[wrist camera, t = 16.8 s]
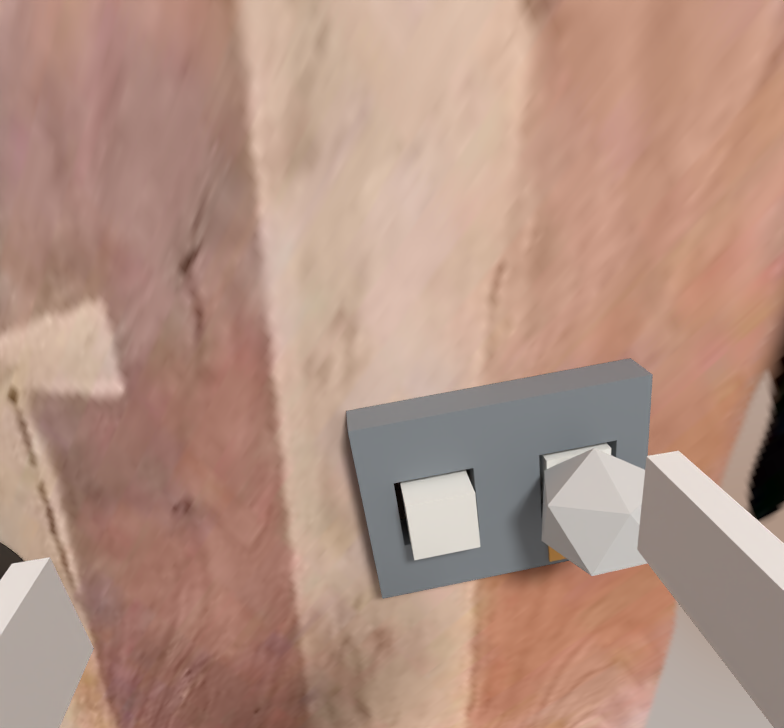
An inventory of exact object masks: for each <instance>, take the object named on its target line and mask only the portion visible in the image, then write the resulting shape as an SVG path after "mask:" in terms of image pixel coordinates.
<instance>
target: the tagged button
mask: <svg viewBox="0 0 784 728" xmlns="http://www.w3.org/2000/svg"><path fill="white" fill-rule="evenodd" d="M593 448H595V449H598V450H600V451H602V452H605V453H607V454H609V455H611V447H610V446H609V445H608V444H607V443H606V442H605V443H600V444H595V445H590V446H585V447H579V448H574V449H569V450H564V451H559V452H553V453H548V454H543V455H539V466H540V493H541V502H542V504H543V491H544V470H546V469H548V468H551V467H553V466H555V465H557V464H560V463H562V462H564V461H566V460H568V459H571V458H573V457H575V456H577V455H580V454H582V453H584V452H586V451H589V450H591V449H593Z"/></svg>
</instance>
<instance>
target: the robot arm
mask: <svg viewBox="0 0 784 728" xmlns="http://www.w3.org/2000/svg"><path fill="white" fill-rule="evenodd" d="M637 550H638V551H639V553H640V554H641V555H642V557H643V558H644V559H645V560H646V562H647V563H648V564H649V566H650V567H651V568H652V570H653V571H654V572H655V573H656V575H657V576H658V577H659V579H660V580H661V581H662V583H663V584H664V585H665V586H666V588H667V589H668V590H669V592H670V593H671V594H672V596H673V597H674V598H675V599H676V601H677V602H678V603H679V605H680V606H681V607H682V609H683V610H684V611H685V612H686V614H687V615H688V616H689V617H690V619H691V620H692V622H693V623H694V624H695V626H696V627H697V628H698V629H699V631H700V632H701V633H702V635H703V636H704V637H705V639H706V640H707V641H708V642H709V644H710V645H711V646H712V648H713V649H714V650H715V651H716V653H717V654H718V655H719V657H720V658H721V659H722V661H723V662H724V663H725V665H726V666H727V667H728V668H729V670H730V671H731V672H732V674H733V675H734V676H735V678H736V679H737V680H738V681H739V683H740V684H741V685H742V687H743V688H744V689H745V690H746V692H747V693H748V694H749V696H750V697H751V698H752V700H753V701H754V702H755V704H756V705H757V706H758V708H759V709H760V710H761V711H762V713H763V714H764V715H765V716H766V718H767V719H768V720H769V722H770V723H771V724H772V726H773V727H774V728H784V543H783V542H782V541H781V540H779V539H778V538H777V537H776V536H775V535H774V534H773V533H771V532H770V531H769V530H768V529H767V528H766V527H765V526H763V525H762V524H761V523H760V522H759V521H758V520H757V519H756V518H754V517H753V516H752V515H751V514H750V513H749V512H748V511H746V510H745V509H744V508H743V507H742V506H741V505H740V504H738V503H737V502H736V501H735V500H734V499H733V498H732V497H730V496H729V495H728V494H727V493H726V492H725V491H724V490H722V489H721V488H720V487H719V486H718V485H717V484H716V483H715V482H713V481H712V480H711V479H710V478H709V477H708V476H707V475H705V474H704V473H703V472H702V471H701V470H700V469H699V468H697V467H696V466H695V465H694V464H693V463H692V462H691V461H690V460H688V459H687V458H686V457H685V456H684V455H683V454H682V453H680V452H679V451H675V452H669V453H663V454H657V455H651V456H647V457H646V467H645V477H644V487H643V496H642V506H641V516H640V525H639V535H638V545H637ZM93 649H94V648H93V646H92V644H91V642H90V640H89V637H88V635H87V633H86V631H85V629H84V627H83V625H82V623H81V621H80V619H79V617H78V615H77V612H76V610H75V608H74V606H73V604H72V602H71V600H70V598H69V596H68V594H67V592H66V590H65V588H64V585H63V583H62V581H61V579H60V577H59V575H58V573H57V571H56V569H55V567H54V565H53V563H52V561H51V558H50V557H49V558H43V559H37V560H31V561H25V562H23V561H22V560H21V559H20V558H19V557H18V556H17V555H16V554H15V553H14V552H12V551H11V550H10V549H8V548H7V547H5V546H4V545H2V544H1V543H0V728H59V727H60V725H61V723H62V720H63V718H64V716H65V713H66V711H67V709H68V706H69V704H70V702H71V700H72V697H73V695H74V693H75V690H76V688H77V686H78V684H79V681H80V679H81V677H82V674H83V672H84V670H85V667H86V665H87V663H88V661H89V658H90V656H91V654H92V651H93Z"/></svg>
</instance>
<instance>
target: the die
mask: <svg viewBox="0 0 784 728" xmlns="http://www.w3.org/2000/svg"><path fill="white" fill-rule="evenodd" d="M644 477H645V470H644V469H642V468H639V467H637V466H635V465H632V464H630V463H628V462H626V461H623V460H621V459H619V458H616V457H614V456H612V455H609V454H607V453H605V452H602V451H600V450H598V449H595V448H593V449H591V450H589V451H586V452H584V453H582V454H580V455H577V456H575V457H573V458H571V459H568V460H566V461H564V462H562V463H560V464H557V465H555V466H553V467H551V468H548V469H546V470H544V491H543V516H542V541H543V542H544V543H545V544H547V545H548V546H550V547H551V548H553V549H554V550H555V551H557V552H558V553H560V554H561V555H563V556H564V557H565V558H567V559H568V560H570V561H571V562H573V563H574V564H575V565H577V566H578V567H580V568H581V569H582V570H584V571H585V572H587V573H588V574H590V575H591V576H594V575H598V574H603V573H607V572H612V571H616V570H620V569H625V568H629V567H634V566H638V565H642V564H647V562H646V560H645V559H644V558H643V557H642V555H641V554H640V553H639V551H638V550H637V545H638V535H639V525H640V516H641V506H642V496H643V487H644Z"/></svg>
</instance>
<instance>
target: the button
mask: <svg viewBox="0 0 784 728" xmlns="http://www.w3.org/2000/svg"><path fill="white" fill-rule="evenodd" d="M400 486H401V492H402V498H403V503H404V509H405V515H406V521H407V527H408V533H409V537H410V542H411V547H412V551H413V556H414V560H419V559H424V558H429V557H434V556H439V555H443V554H448V553H453V552H458V551H463V550H468V549H473V548H478V547H480V537H479V527H478V517H477V506H476V496H475V491H474V489H473V487H472V484H471V482H470V480H469V477H468V475H467V472H466V470H460V471H455V472H450V473H445V474H440V475H434V476H429V477H424V478H419V479H414V480H408V481H403V482H400Z"/></svg>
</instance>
